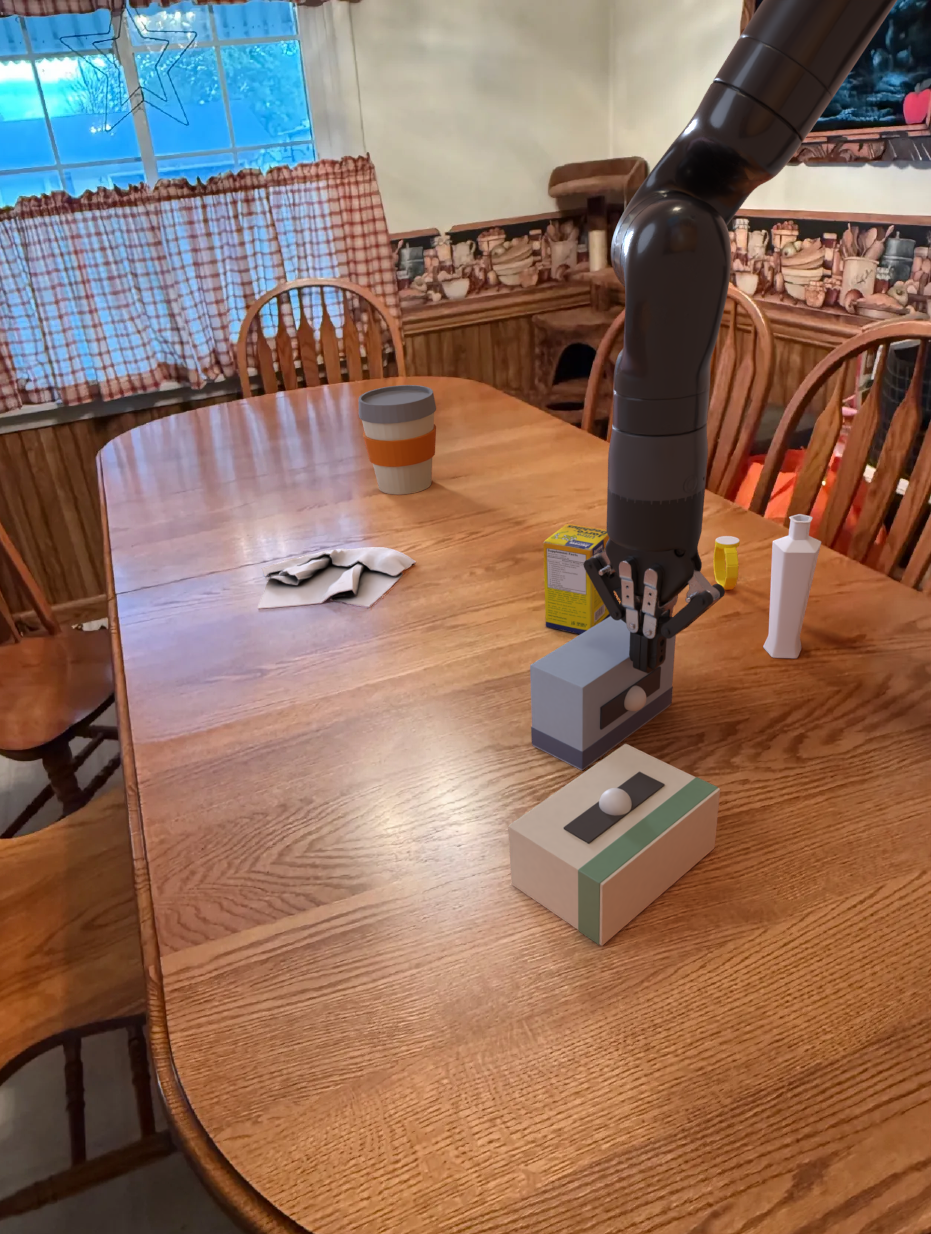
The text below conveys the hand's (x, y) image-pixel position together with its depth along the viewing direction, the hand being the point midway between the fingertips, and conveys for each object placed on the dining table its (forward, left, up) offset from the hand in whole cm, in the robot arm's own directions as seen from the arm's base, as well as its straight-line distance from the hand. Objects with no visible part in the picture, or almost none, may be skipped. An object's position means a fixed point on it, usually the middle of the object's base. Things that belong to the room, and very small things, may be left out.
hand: (646, 667), depth 80 cm
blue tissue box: (0, -5, -8) cm, 10 cm away
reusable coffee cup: (-35, -73, -9) cm, 81 cm away
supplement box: (-15, -20, -9) cm, 26 cm away
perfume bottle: (-23, +1, -9) cm, 25 cm away
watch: (-33, -12, -9) cm, 36 cm away
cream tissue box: (+15, +12, -5) cm, 20 cm away
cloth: (-4, -54, -9) cm, 54 cm away
